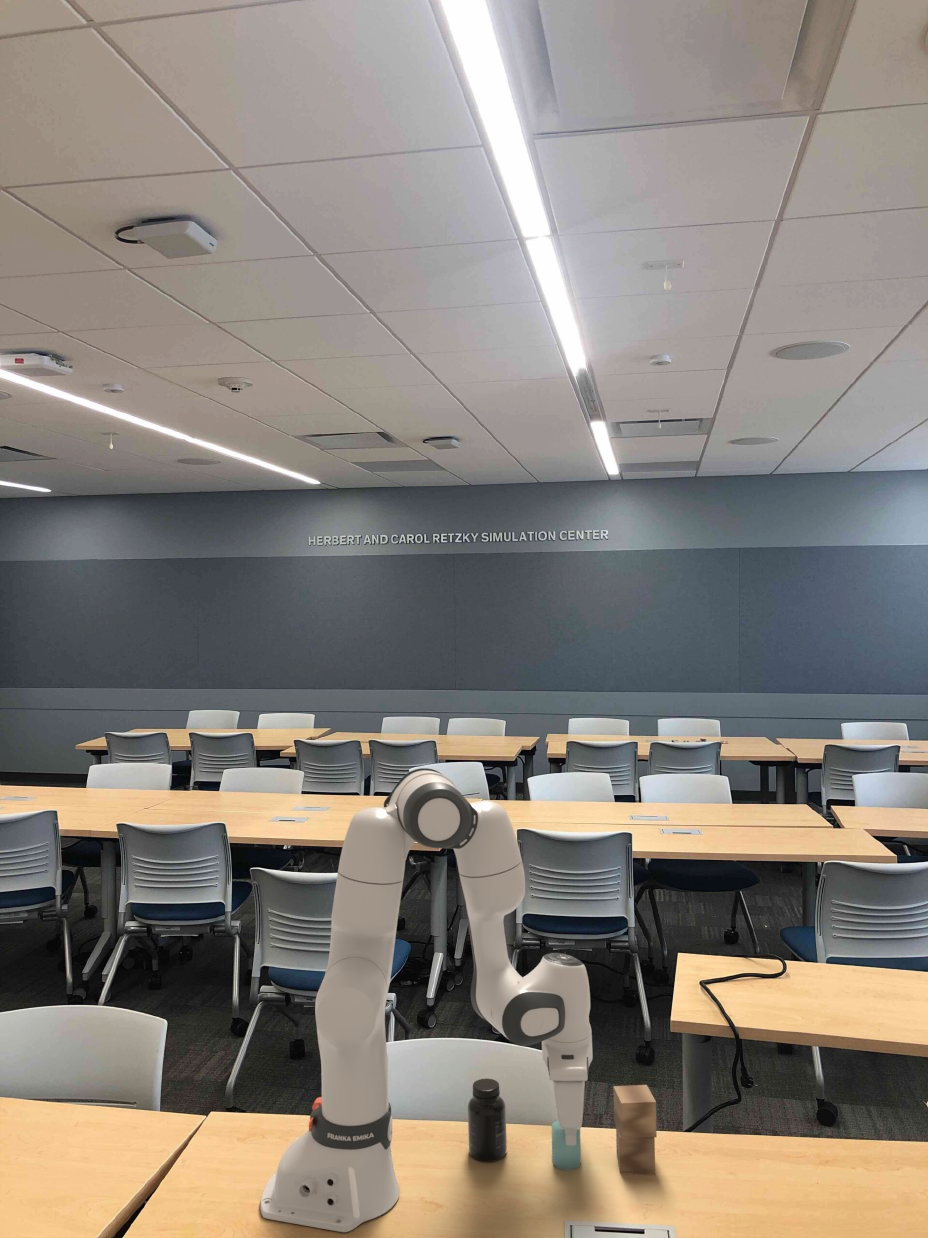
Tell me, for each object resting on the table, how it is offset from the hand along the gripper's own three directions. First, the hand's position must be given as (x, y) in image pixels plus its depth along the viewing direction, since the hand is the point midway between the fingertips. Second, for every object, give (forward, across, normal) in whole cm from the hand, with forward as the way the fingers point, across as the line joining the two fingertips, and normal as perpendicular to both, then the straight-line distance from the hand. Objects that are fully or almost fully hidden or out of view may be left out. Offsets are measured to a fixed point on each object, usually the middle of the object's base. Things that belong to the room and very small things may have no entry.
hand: (570, 1128), depth 156 cm
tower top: (0, 0, +11) cm, 11 cm away
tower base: (+6, 0, +11) cm, 13 cm away
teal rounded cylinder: (+6, 0, -1) cm, 6 cm away
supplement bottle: (+6, -2, -15) cm, 16 cm away
